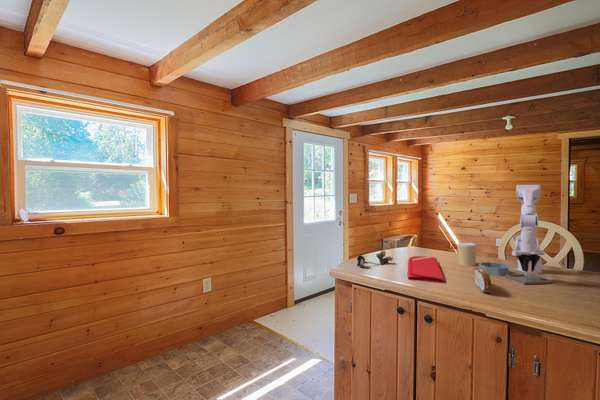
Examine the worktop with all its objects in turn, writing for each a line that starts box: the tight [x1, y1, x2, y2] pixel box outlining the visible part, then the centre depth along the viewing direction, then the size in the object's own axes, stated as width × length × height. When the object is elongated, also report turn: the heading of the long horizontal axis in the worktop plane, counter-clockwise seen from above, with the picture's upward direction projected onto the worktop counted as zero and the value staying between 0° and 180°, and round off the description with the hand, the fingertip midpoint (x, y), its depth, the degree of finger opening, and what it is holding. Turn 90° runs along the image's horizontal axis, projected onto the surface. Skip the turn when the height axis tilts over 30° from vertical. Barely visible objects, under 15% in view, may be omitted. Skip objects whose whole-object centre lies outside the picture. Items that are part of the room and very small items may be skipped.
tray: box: [504, 273, 553, 286], centre depth 139 cm, size 13×11×2 cm
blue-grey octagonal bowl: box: [478, 261, 510, 277], centre depth 152 cm, size 12×12×4 cm
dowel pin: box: [523, 260, 532, 278], centre depth 139 cm, size 2×2×8 cm
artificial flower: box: [356, 250, 394, 269], centre depth 170 cm, size 9×22×10 cm, turn 115°
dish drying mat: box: [407, 255, 445, 284], centre depth 158 cm, size 16×41×4 cm, turn 160°
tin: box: [474, 267, 493, 294], centre depth 128 cm, size 15×3×8 cm, turn 164°
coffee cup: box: [457, 242, 478, 267], centre depth 167 cm, size 9×9×12 cm
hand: (527, 271), depth 139 cm, fingers closed on dowel pin, 2 cm apart
